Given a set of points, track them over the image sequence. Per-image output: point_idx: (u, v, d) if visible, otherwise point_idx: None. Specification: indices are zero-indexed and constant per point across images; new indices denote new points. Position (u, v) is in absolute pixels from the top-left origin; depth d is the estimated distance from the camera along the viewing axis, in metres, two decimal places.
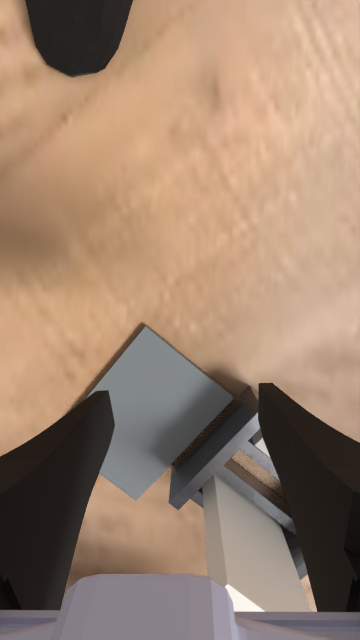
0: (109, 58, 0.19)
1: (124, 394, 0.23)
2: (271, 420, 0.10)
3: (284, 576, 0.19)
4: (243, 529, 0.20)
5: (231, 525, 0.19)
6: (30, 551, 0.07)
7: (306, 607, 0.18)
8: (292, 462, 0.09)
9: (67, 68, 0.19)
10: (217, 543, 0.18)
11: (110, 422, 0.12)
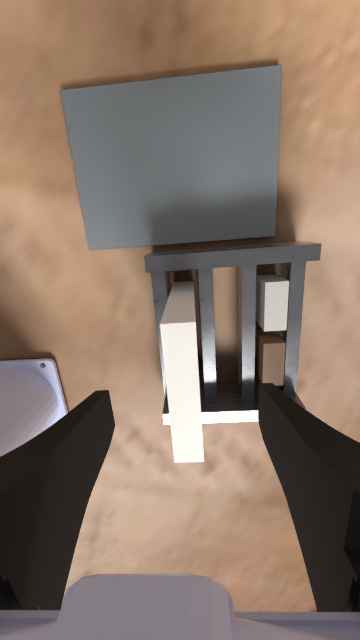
0: None
1: (185, 122, 0.17)
2: (271, 420, 0.10)
3: None
4: None
5: None
6: (30, 551, 0.07)
7: None
8: (292, 462, 0.09)
9: None
10: (185, 306, 0.14)
11: (110, 422, 0.12)
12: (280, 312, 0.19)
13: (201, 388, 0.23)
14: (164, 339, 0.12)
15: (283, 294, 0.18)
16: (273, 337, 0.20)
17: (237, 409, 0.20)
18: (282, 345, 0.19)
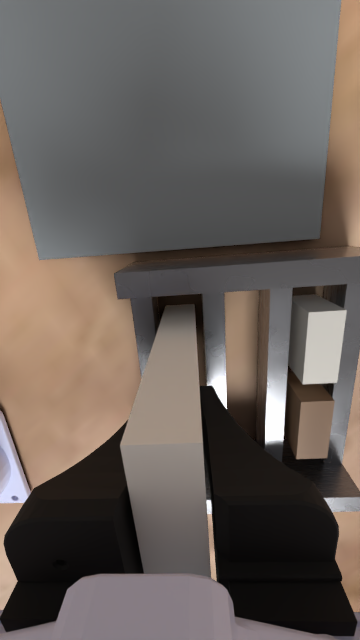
0: None
1: (183, 54, 0.11)
2: (202, 423, 0.11)
3: None
4: None
5: None
6: (137, 550, 0.06)
7: None
8: (209, 464, 0.09)
9: None
10: (180, 373, 0.07)
11: None
12: (329, 357, 0.12)
13: None
14: (132, 474, 0.05)
15: (336, 330, 0.12)
16: (312, 388, 0.14)
17: None
18: (329, 404, 0.13)
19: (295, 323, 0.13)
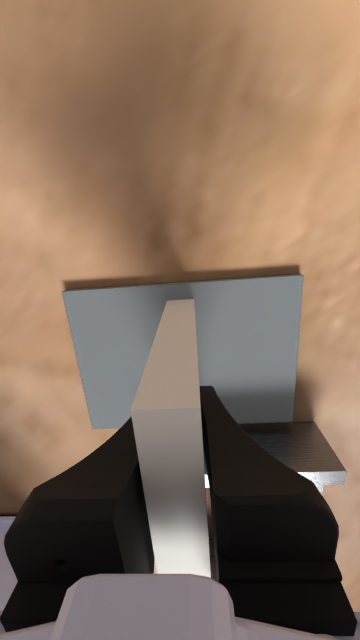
0: None
1: (198, 322, 0.16)
2: (202, 423, 0.11)
3: None
4: None
5: None
6: (136, 550, 0.06)
7: None
8: (209, 464, 0.09)
9: None
10: (181, 356, 0.08)
11: None
12: None
13: (211, 548, 0.22)
14: (140, 436, 0.06)
15: None
16: None
17: None
18: None
19: None
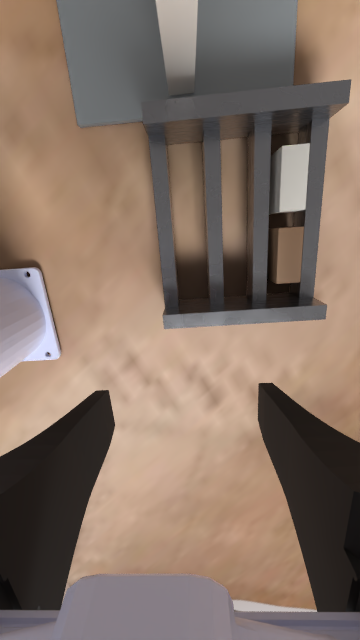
0: None
1: None
2: (271, 420, 0.10)
3: None
4: None
5: None
6: (30, 551, 0.07)
7: None
8: (292, 462, 0.09)
9: None
10: None
11: (110, 422, 0.12)
12: (299, 185, 0.16)
13: (206, 300, 0.21)
14: None
15: (302, 161, 0.16)
16: (289, 227, 0.18)
17: (248, 309, 0.18)
18: (300, 230, 0.17)
19: (274, 169, 0.17)
